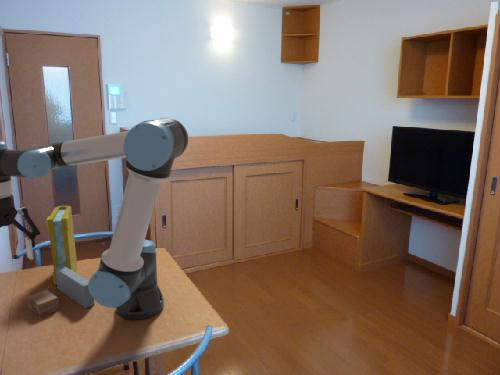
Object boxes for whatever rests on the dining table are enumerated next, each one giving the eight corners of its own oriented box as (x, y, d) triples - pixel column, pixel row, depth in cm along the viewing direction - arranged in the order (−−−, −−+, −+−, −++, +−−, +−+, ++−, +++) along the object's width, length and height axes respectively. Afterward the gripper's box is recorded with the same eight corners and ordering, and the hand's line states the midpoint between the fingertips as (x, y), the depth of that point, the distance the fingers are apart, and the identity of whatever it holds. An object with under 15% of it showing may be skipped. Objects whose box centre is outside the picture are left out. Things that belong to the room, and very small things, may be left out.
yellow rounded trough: (74, 282, 149) (67, 218, 143) (54, 284, 147) (46, 219, 141) (79, 263, 165) (73, 205, 159) (61, 265, 163) (54, 206, 157)
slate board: (94, 304, 134) (92, 282, 132) (85, 308, 132) (83, 286, 130) (65, 285, 147) (63, 265, 145) (57, 288, 144) (55, 268, 142)
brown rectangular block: (59, 309, 131) (57, 297, 130) (40, 317, 127) (38, 304, 126) (48, 301, 136) (46, 289, 135) (29, 308, 132) (27, 296, 131)
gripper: (36, 185, 127) (44, 249, 132) (-57, 201, 109) (-44, 274, 114) (46, 189, 122) (54, 255, 127) (-49, 207, 104) (-36, 283, 110)
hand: (8, 264), depth 121 cm, fingers open, 12 cm apart
